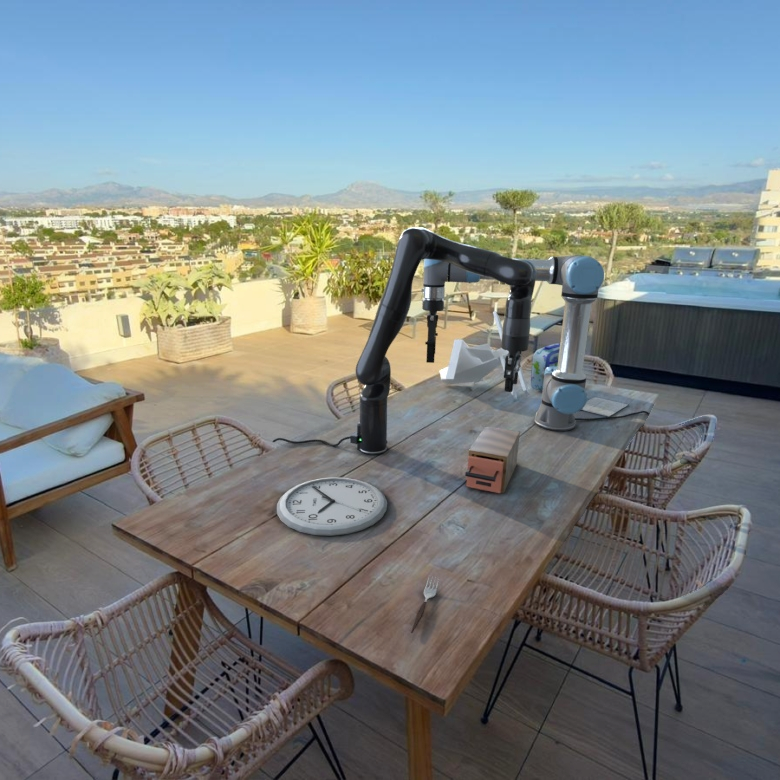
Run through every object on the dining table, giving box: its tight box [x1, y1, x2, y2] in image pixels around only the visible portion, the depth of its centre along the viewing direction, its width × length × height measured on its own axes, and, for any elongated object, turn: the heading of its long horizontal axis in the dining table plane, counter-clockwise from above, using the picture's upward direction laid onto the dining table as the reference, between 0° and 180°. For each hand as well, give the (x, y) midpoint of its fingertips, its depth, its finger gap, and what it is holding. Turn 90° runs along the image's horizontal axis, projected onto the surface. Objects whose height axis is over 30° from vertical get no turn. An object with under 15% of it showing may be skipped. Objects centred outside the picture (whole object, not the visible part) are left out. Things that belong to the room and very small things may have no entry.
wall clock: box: [276, 476, 388, 537], centre depth 142 cm, size 30×2×30 cm
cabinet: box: [468, 425, 521, 494], centre depth 161 cm, size 21×11×11 cm, turn 157°
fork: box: [410, 574, 440, 634], centre depth 104 cm, size 3×16×2 cm, turn 160°
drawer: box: [464, 454, 504, 494], centre depth 155 cm, size 26×10×9 cm, turn 157°
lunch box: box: [530, 343, 560, 391], centre depth 249 cm, size 26×11×21 cm, turn 134°
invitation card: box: [581, 396, 629, 417], centre depth 226 cm, size 21×1×15 cm
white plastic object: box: [438, 310, 531, 400], centre depth 245 cm, size 37×45×31 cm
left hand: (510, 387), depth 152 cm, fingers open, 8 cm apart
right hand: (430, 357), depth 189 cm, fingers open, 13 cm apart
